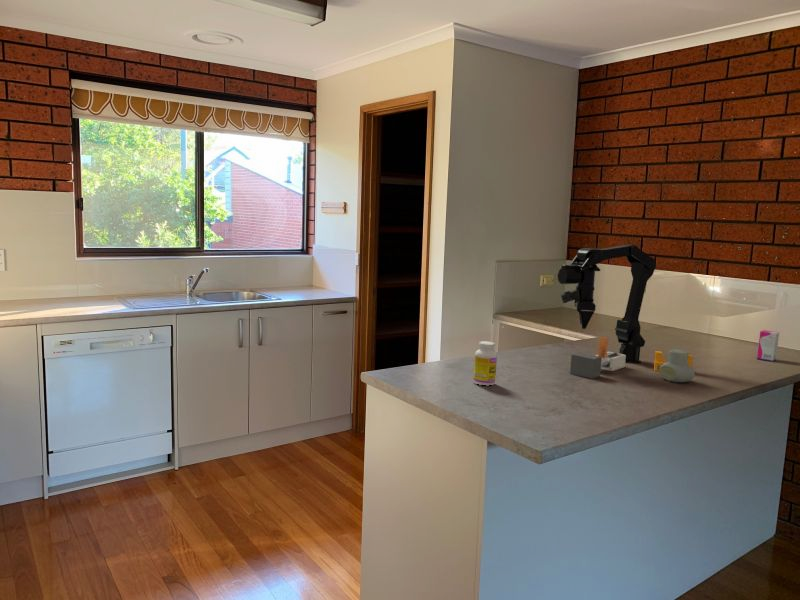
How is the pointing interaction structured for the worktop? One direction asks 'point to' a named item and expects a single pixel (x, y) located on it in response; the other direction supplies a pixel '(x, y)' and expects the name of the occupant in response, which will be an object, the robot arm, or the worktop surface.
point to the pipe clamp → (660, 361)
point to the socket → (585, 365)
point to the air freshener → (677, 367)
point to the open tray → (615, 362)
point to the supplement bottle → (485, 364)
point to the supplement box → (768, 345)
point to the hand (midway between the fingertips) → (582, 326)
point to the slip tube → (605, 352)
